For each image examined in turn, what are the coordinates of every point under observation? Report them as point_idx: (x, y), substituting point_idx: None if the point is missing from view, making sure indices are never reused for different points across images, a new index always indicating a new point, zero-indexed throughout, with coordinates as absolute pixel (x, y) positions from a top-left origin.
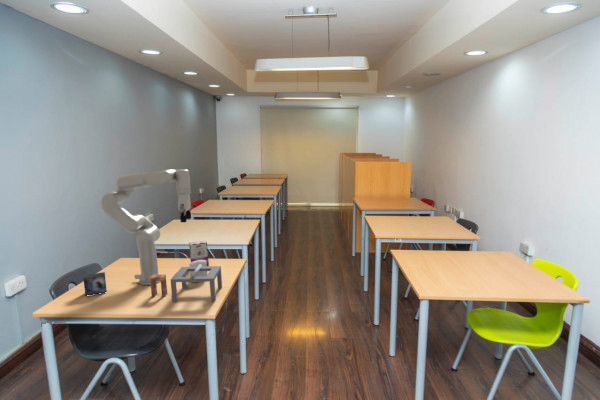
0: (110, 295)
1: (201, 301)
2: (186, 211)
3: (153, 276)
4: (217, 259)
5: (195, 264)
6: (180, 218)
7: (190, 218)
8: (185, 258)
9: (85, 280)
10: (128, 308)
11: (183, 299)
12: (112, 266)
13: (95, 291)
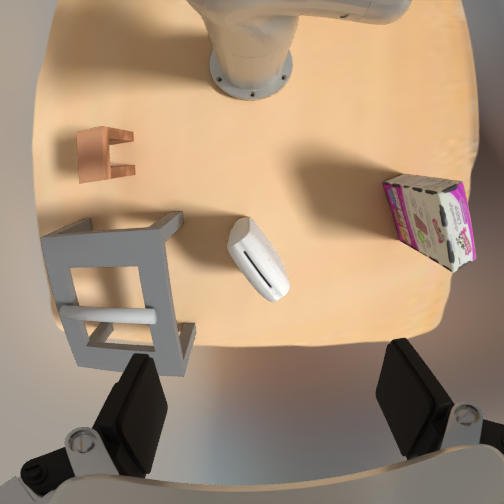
0: (134, 10)
1: (99, 297)
2: (434, 430)
3: (85, 139)
4: None
5: (236, 264)
6: (115, 389)
7: (378, 391)
8: (474, 136)
9: None
10: (50, 115)
11: None
12: None
13: None
